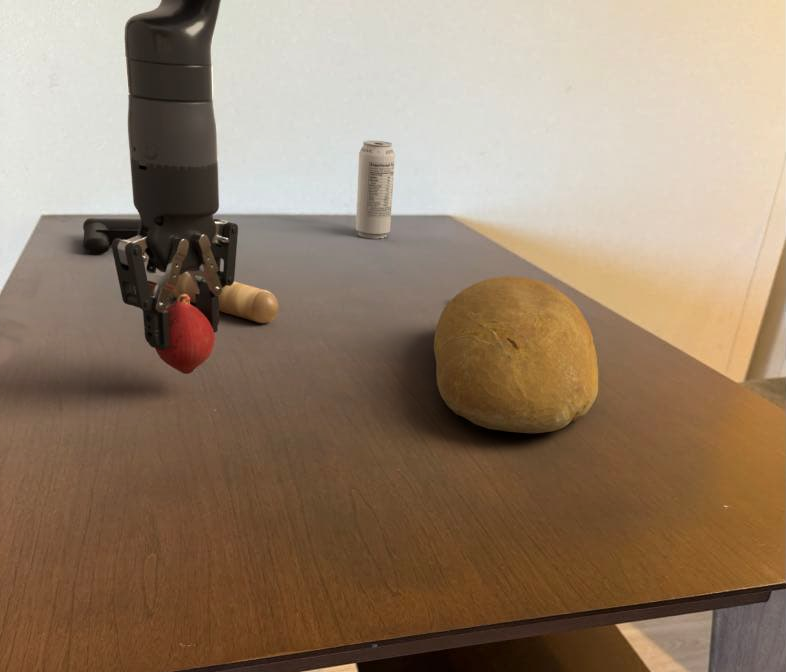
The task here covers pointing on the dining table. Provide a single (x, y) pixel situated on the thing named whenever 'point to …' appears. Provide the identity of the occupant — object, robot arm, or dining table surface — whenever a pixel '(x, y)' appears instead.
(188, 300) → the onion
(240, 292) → the tan rounded rod
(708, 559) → the dining table surface
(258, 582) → the dining table surface
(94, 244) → the door handle
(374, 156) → the energy drink can
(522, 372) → the bread
